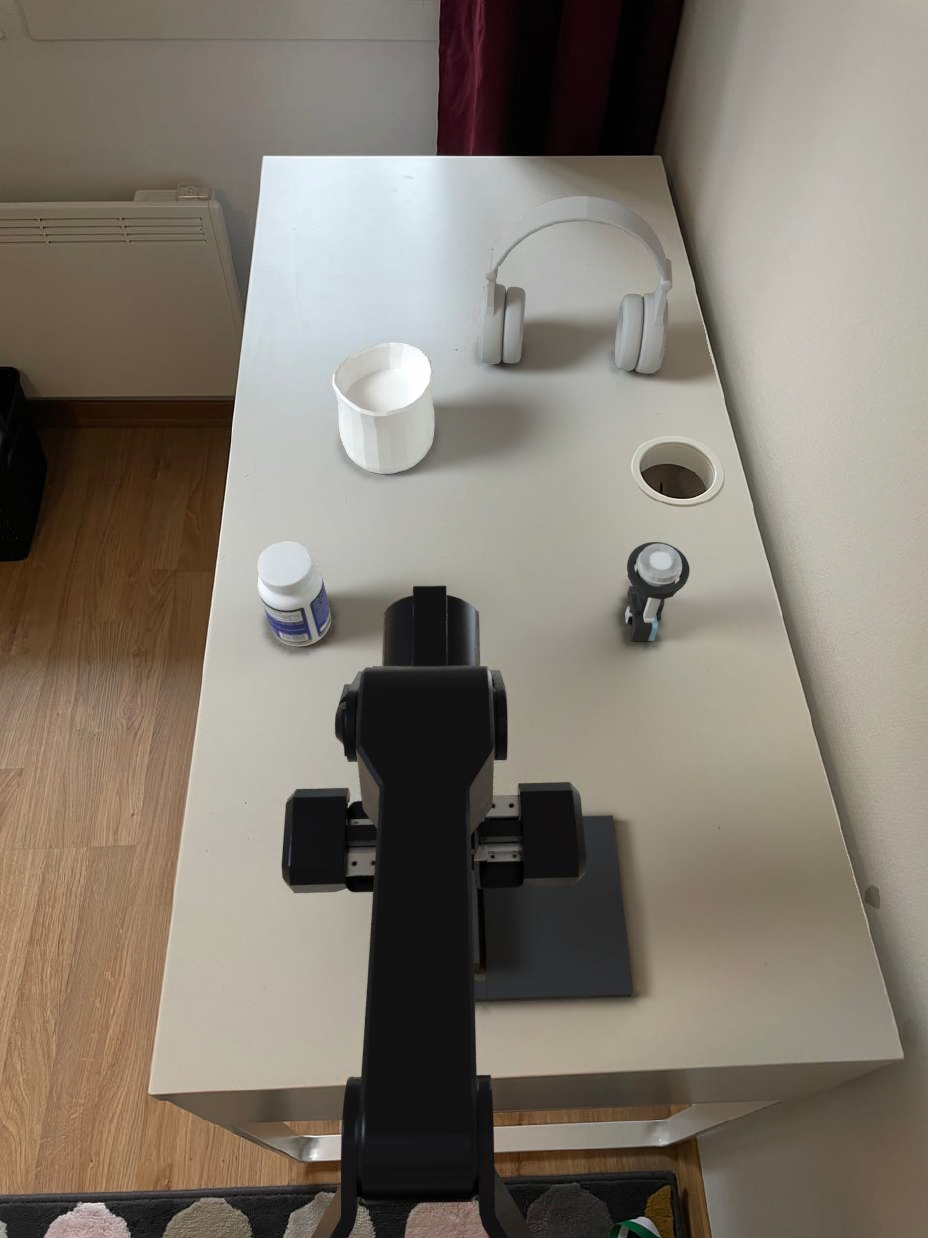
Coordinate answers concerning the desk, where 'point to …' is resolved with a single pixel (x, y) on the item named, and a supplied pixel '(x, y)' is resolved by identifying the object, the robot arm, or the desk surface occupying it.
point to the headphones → (637, 316)
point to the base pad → (560, 932)
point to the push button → (652, 585)
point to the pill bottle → (293, 594)
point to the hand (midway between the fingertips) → (436, 874)
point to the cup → (385, 406)
